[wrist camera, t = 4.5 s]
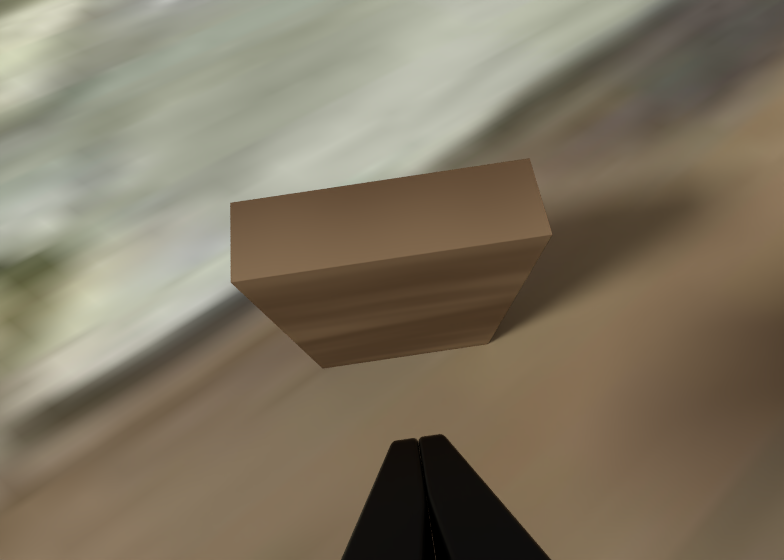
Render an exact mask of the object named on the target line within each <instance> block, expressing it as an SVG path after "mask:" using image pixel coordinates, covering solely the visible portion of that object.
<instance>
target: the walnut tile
mask: <svg viewBox="0 0 784 560" xmlns="http://www.w3.org/2000/svg"><path fill="white" fill-rule="evenodd" d="M230 220H231V283H232V284H233V285H234V286H235V287H236V288H237V289H238V290H239V291H241V292H242V293H243V294H244V295H245V296H246V297H247V298H248V299H249V300H250V301H251V302H252V303H253V304H254V305H256V306H257V307H258V308H259V309H260V310H261V311H262V312H263V313H264V314H265V315H266V316H267V317H268V318H269V319H270V320H272V321H273V322H274V323H275V324H276V325H277V326H278V327H279V328H280V329H281V330H282V331H283V332H284V333H285V334H287V335H288V336H289V337H290V338H291V339H292V340H293V341H294V342H295V343H296V344H297V345H298V346H299V347H300V348H301V349H303V350H304V351H305V352H306V353H307V354H308V355H309V356H310V357H311V358H312V359H313V360H314V361H315V362H316V363H318V364H319V365H320V366H321V367H322V368H329V367H336V366H343V365H349V364H356V363H363V362H370V361H377V360H383V359H390V358H397V357H404V356H410V355H417V354H424V353H431V352H437V351H444V350H451V349H458V348H464V347H471V346H478V345H485V344H488V343H489V341H490V340H491V338H492V336H493V335H494V333H495V331H496V330H497V328H498V326H499V324H500V323H501V321H502V319H503V318H504V316H505V314H506V313H507V311H508V309H509V308H510V306H511V304H512V302H513V301H514V299H515V297H516V296H517V294H518V292H519V291H520V289H521V287H522V285H523V284H524V282H525V280H526V279H527V277H528V275H529V274H530V272H531V270H532V268H533V267H534V265H535V263H536V262H537V260H538V258H539V257H540V255H541V253H542V252H543V250H544V248H545V246H546V245H547V243H548V241H549V240H550V238H551V236H552V231H551V228H550V225H549V221H548V218H547V215H546V211H545V208H544V205H543V201H542V198H541V195H540V192H539V188H538V185H537V182H536V178H535V175H534V172H533V168H532V165H531V162H530V158H528V159H522V160H515V161H508V162H501V163H495V164H488V165H481V166H475V167H468V168H461V169H454V170H448V171H441V172H434V173H428V174H421V175H414V176H407V177H401V178H394V179H387V180H381V181H374V182H367V183H361V184H354V185H347V186H340V187H334V188H327V189H320V190H314V191H307V192H300V193H293V194H287V195H280V196H273V197H267V198H260V199H253V200H246V201H240V202H233V203H230Z"/></svg>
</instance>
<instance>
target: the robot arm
mask: <svg viewBox="0 0 784 560" xmlns="http://www.w3.org/2000/svg"><path fill="white" fill-rule="evenodd" d="M419 449H420V451H419ZM420 456H421V458H420ZM421 463H422V464H421ZM422 470H423V471H422ZM423 476H424V477H423ZM424 483H425V484H424ZM427 503H428V504H427ZM428 510H429V511H428ZM429 516H430V518H429ZM430 523H431V524H430ZM431 530H432V531H431ZM432 536H433V538H432ZM433 543H434V545H433ZM434 550H435V552H434ZM435 556H436V558H435ZM341 560H551V559H550V558H549V557H548V556H547V554H546V553H545V552H544V551H543V550H542V549H541V547H540V546H539V545H538V544H537V543H536V542H535V540H534V539H533V538H532V537H531V536H530V535H529V533H528V532H527V531H526V530H525V529H524V528H523V526H522V525H521V524H520V523H519V522H518V521H517V519H516V518H515V517H514V516H513V515H512V514H511V512H510V511H509V510H508V509H507V508H506V507H505V505H504V504H503V503H502V502H501V501H500V500H499V498H498V497H497V496H496V495H495V494H494V493H493V491H492V490H491V489H490V488H489V487H488V486H487V484H486V483H485V482H484V481H483V480H482V479H481V477H480V476H479V475H478V474H477V473H476V472H475V470H474V469H473V468H472V467H471V466H470V465H469V464H468V462H467V461H466V460H465V459H464V458H463V457H462V455H461V454H460V453H459V452H458V451H457V450H456V448H455V447H454V446H453V445H452V444H451V443H450V441H449V440H448V439H447V438H446V437H445V436H444V435H442V434H438V435H431V436H424V437H421V438H420V439H419V444H418V441H417V439H415V438H410V439H404V440H397V441H394V442H393V443H392V444H391V446H390V448H389V450H388V452H387V455H386V457H385V459H384V462H383V464H382V466H381V468H380V471H379V473H378V475H377V478H376V480H375V482H374V485H373V487H372V489H371V492H370V494H369V496H368V499H367V501H366V503H365V505H364V508H363V510H362V512H361V515H360V517H359V519H358V522H357V524H356V526H355V529H354V531H353V533H352V536H351V538H350V540H349V542H348V545H347V547H346V549H345V552H344V554H343V556H342V559H341Z"/></svg>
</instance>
